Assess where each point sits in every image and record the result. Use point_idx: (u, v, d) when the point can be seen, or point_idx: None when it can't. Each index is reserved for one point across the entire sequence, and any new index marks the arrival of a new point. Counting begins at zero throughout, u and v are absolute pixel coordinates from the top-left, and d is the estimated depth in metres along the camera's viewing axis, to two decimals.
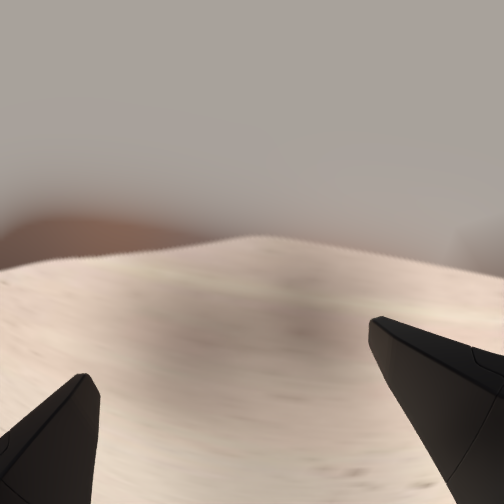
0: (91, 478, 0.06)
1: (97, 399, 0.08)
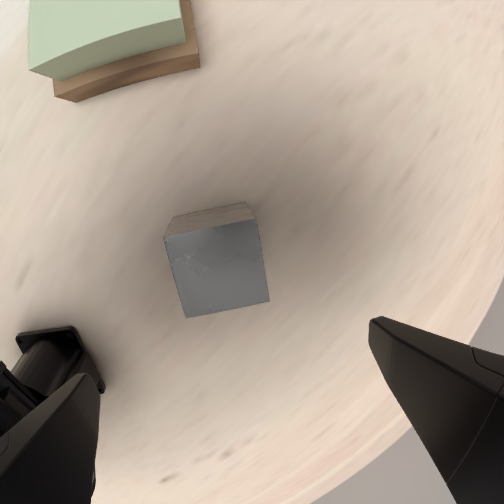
0: (91, 479, 0.06)
1: (97, 399, 0.08)
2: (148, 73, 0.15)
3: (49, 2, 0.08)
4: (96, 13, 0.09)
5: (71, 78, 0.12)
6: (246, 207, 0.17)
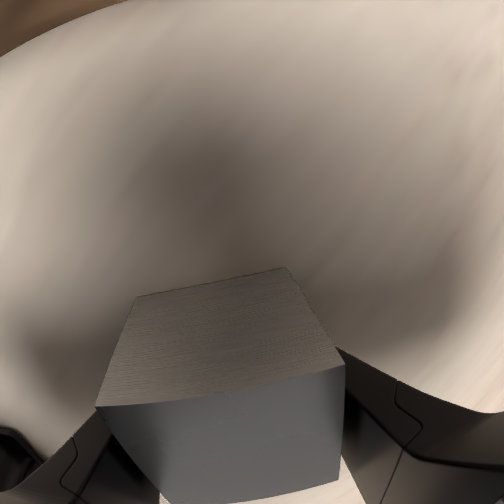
0: None
1: None
2: None
3: None
4: None
5: None
6: (296, 293, 0.08)
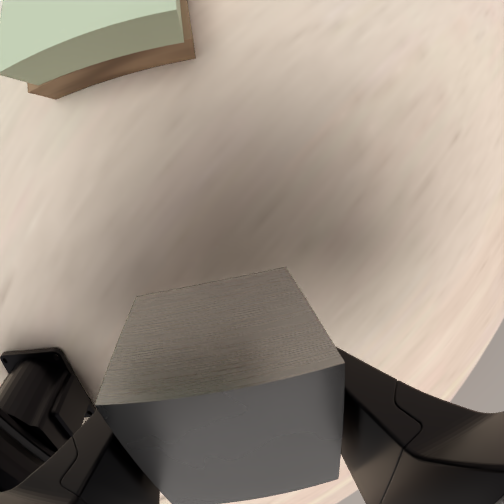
0: None
1: None
2: (135, 64, 0.12)
3: None
4: (75, 4, 0.07)
5: None
6: (296, 292, 0.08)
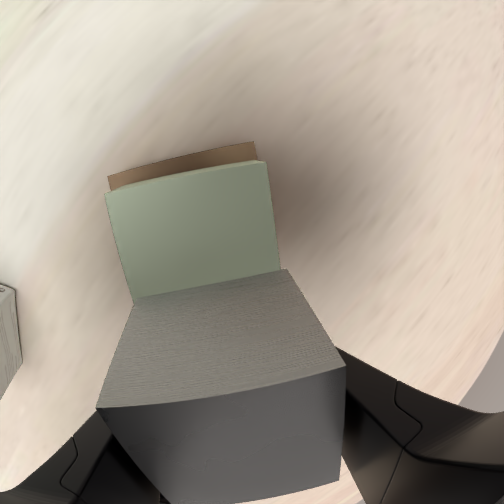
0: None
1: None
2: None
3: (148, 270, 0.13)
4: None
5: None
6: (297, 294, 0.08)
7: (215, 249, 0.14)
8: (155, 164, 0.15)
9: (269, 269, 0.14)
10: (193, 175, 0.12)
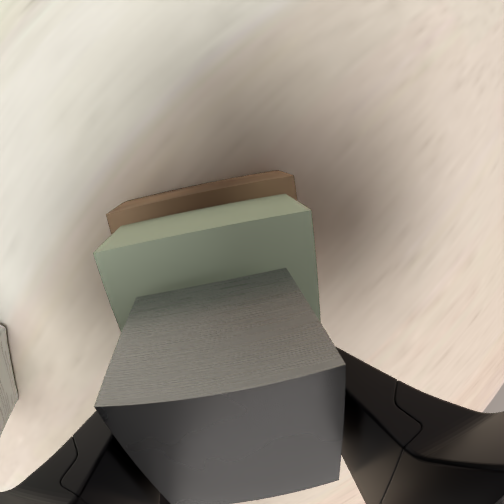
0: None
1: None
2: None
3: None
4: None
5: None
6: (296, 293, 0.08)
7: None
8: (167, 201, 0.12)
9: None
10: (213, 229, 0.09)
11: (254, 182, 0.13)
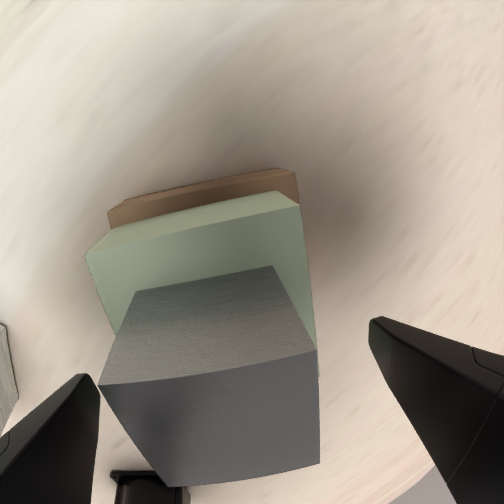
0: (91, 479, 0.06)
1: (97, 399, 0.08)
2: None
3: None
4: None
5: None
6: (279, 288, 0.08)
7: None
8: (168, 199, 0.12)
9: None
10: (201, 228, 0.09)
11: (255, 179, 0.13)
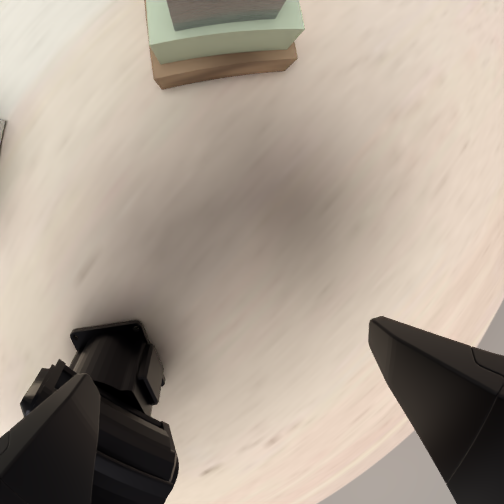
0: (91, 479, 0.06)
1: (97, 399, 0.08)
2: (243, 70, 0.16)
3: None
4: None
5: (173, 64, 0.14)
6: None
7: None
8: None
9: None
10: None
11: None
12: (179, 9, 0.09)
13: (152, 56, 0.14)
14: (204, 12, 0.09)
